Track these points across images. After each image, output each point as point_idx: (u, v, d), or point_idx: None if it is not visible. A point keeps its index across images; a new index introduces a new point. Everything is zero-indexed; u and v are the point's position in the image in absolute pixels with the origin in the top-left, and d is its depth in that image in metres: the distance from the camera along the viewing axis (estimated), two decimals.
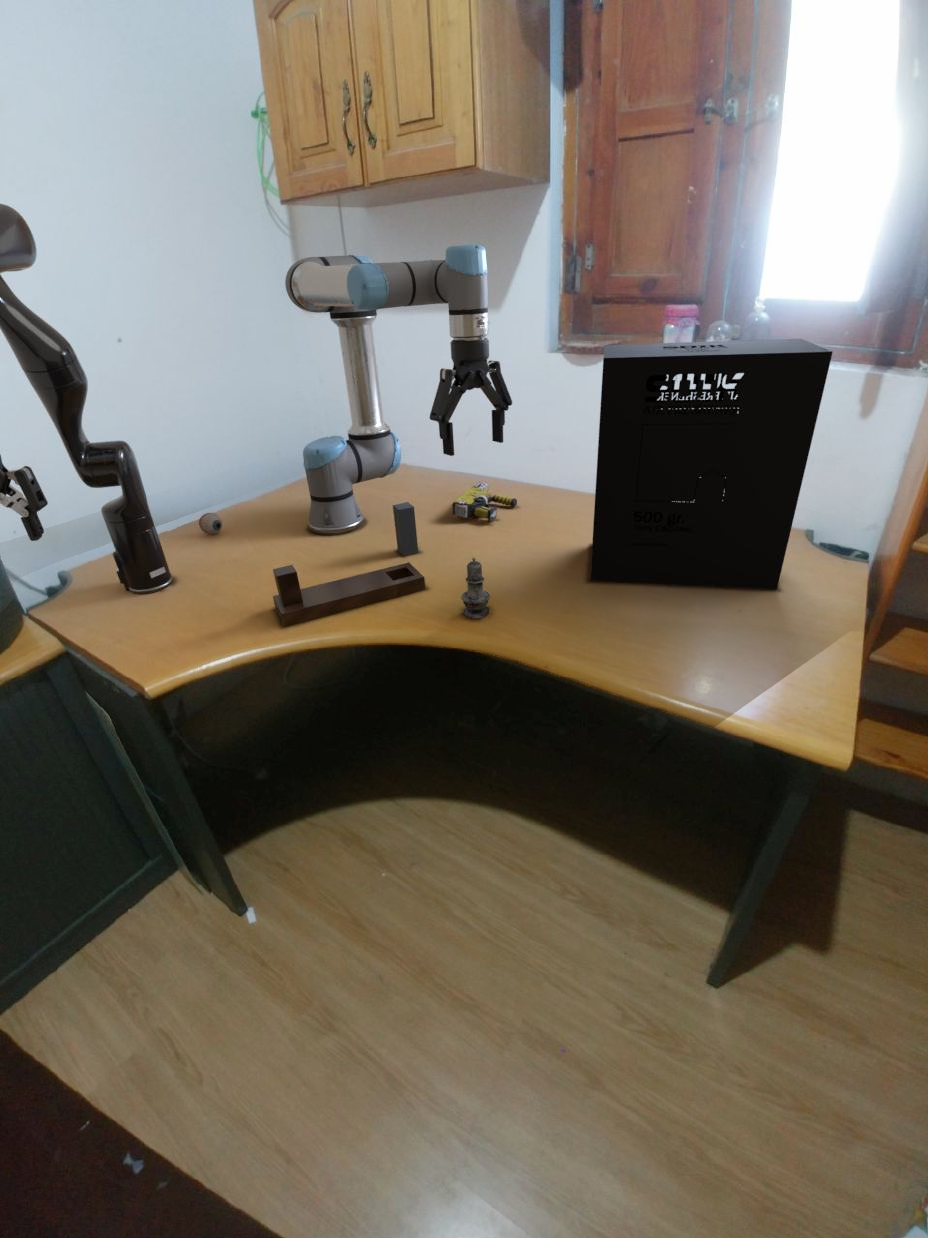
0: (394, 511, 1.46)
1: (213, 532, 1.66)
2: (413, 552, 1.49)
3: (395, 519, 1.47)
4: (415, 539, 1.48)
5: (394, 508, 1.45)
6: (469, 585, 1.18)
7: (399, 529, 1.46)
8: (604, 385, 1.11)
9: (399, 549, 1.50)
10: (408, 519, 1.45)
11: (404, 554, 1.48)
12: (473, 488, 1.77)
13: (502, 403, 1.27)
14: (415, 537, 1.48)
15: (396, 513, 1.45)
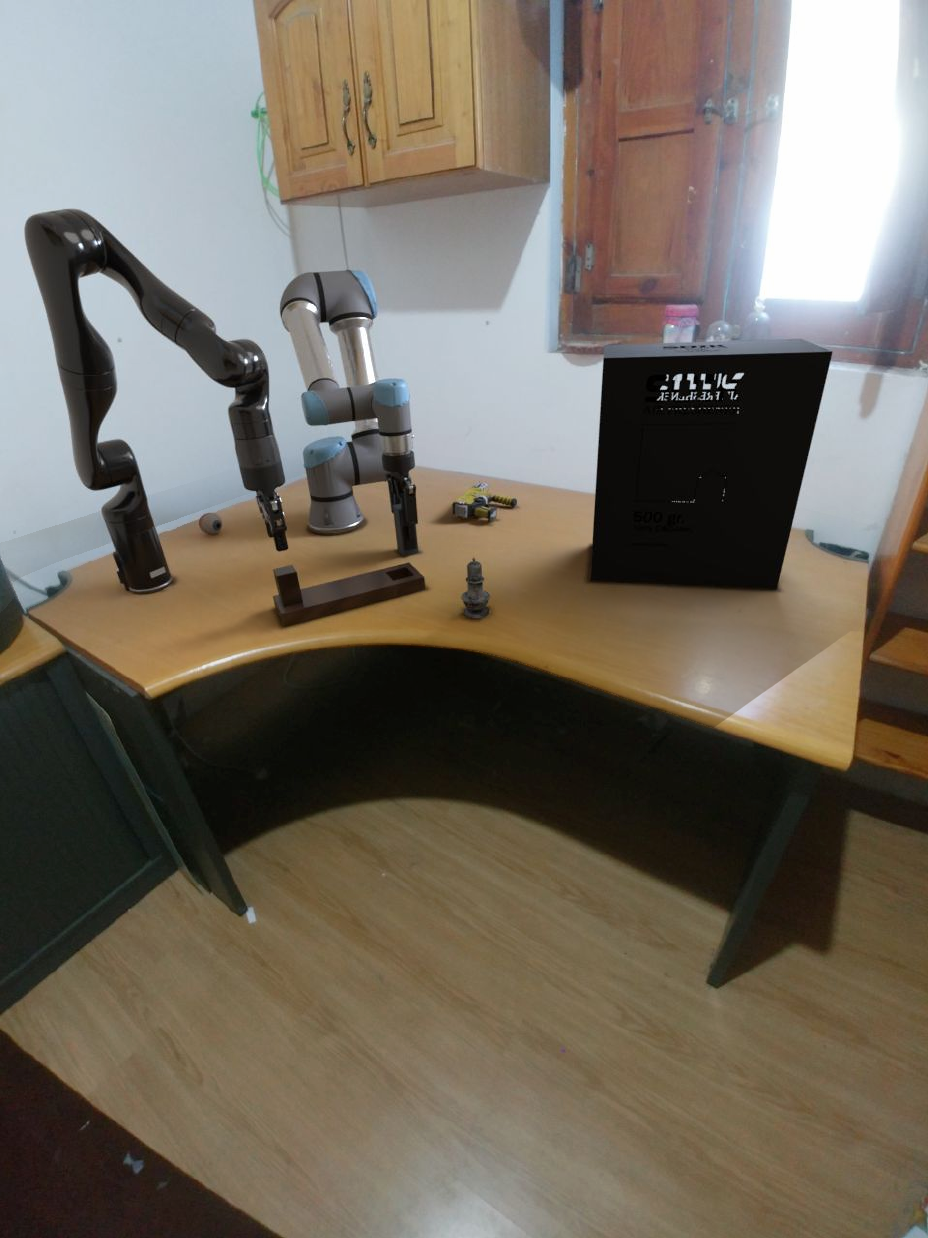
0: (394, 511, 1.46)
1: (213, 532, 1.66)
2: (413, 552, 1.49)
3: (395, 519, 1.47)
4: None
5: (394, 508, 1.45)
6: (469, 585, 1.18)
7: (399, 529, 1.46)
8: (604, 385, 1.11)
9: (399, 549, 1.50)
10: None
11: (404, 554, 1.48)
12: (473, 488, 1.77)
13: None
14: None
15: (396, 513, 1.45)
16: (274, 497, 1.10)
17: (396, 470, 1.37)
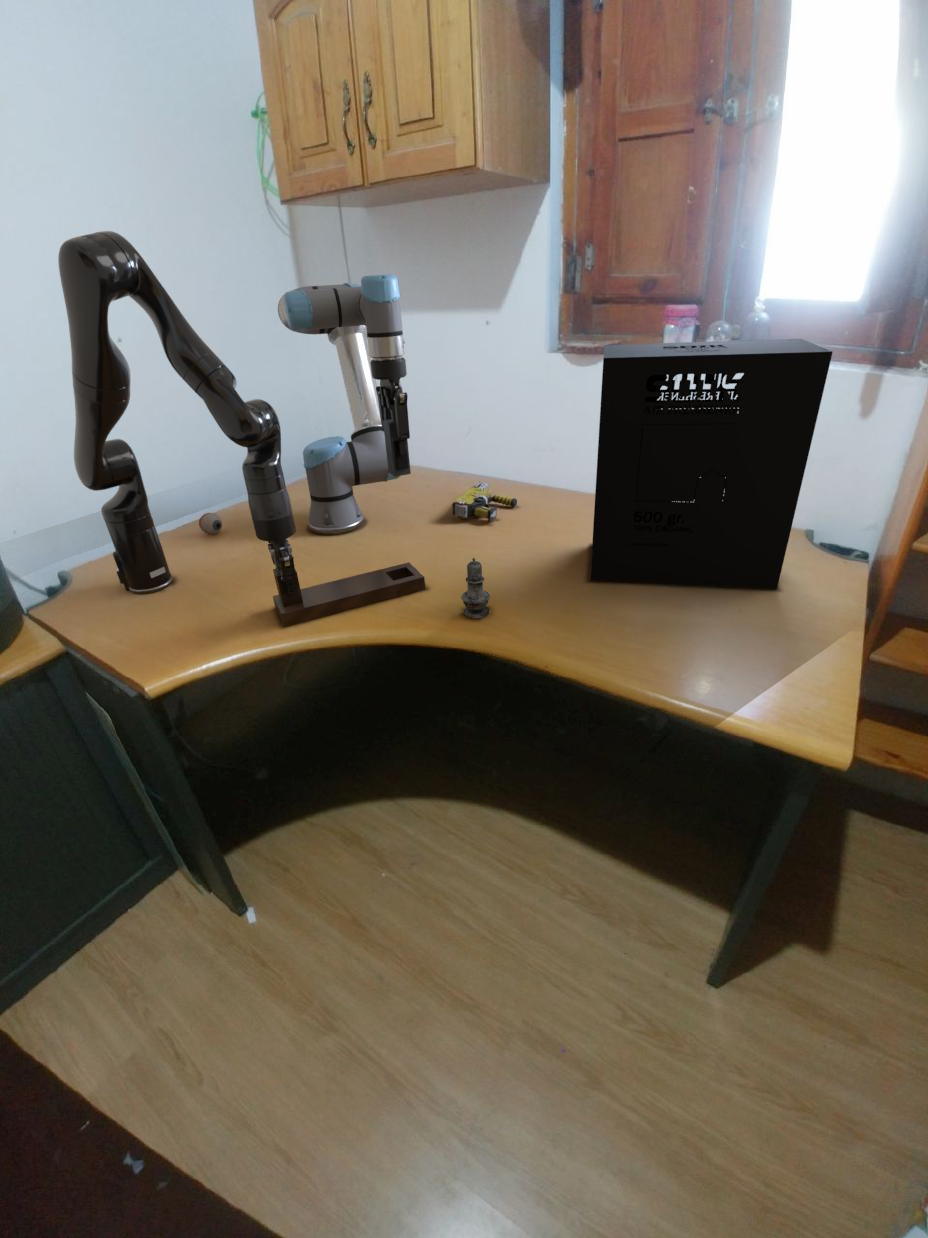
0: (384, 427, 1.36)
1: (213, 532, 1.66)
2: (405, 473, 1.39)
3: (385, 436, 1.37)
4: None
5: (384, 423, 1.35)
6: (469, 585, 1.18)
7: (390, 446, 1.36)
8: (604, 385, 1.11)
9: (390, 470, 1.40)
10: None
11: (395, 474, 1.38)
12: (473, 488, 1.77)
13: None
14: None
15: (386, 428, 1.35)
16: (285, 547, 1.15)
17: (386, 376, 1.27)
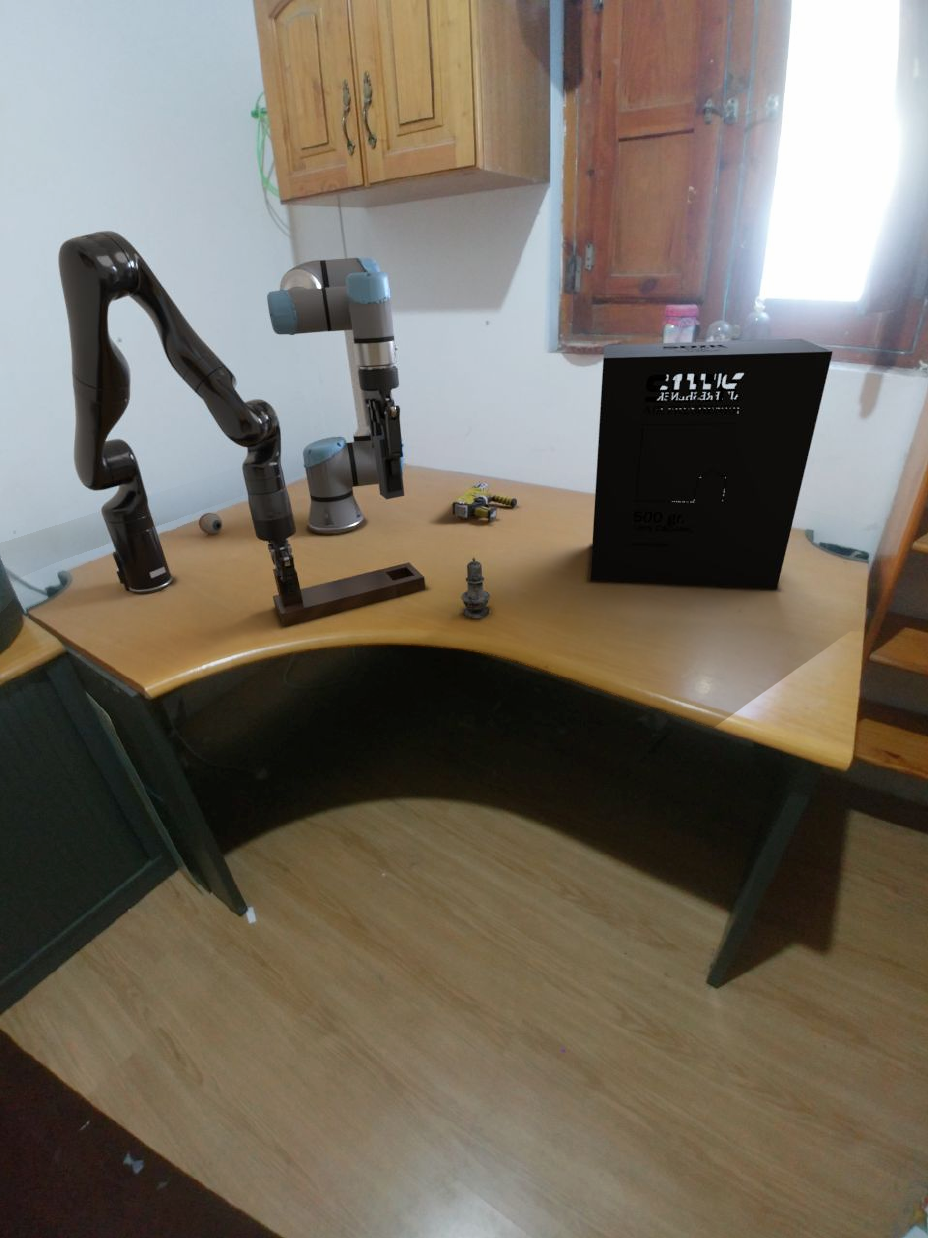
0: (374, 443, 1.20)
1: (213, 532, 1.66)
2: (398, 495, 1.24)
3: (376, 454, 1.21)
4: None
5: (374, 439, 1.20)
6: (469, 585, 1.18)
7: (381, 465, 1.21)
8: (604, 385, 1.11)
9: (381, 492, 1.25)
10: None
11: (387, 497, 1.23)
12: (473, 488, 1.77)
13: None
14: None
15: (377, 445, 1.19)
16: (285, 547, 1.15)
17: (375, 388, 1.12)
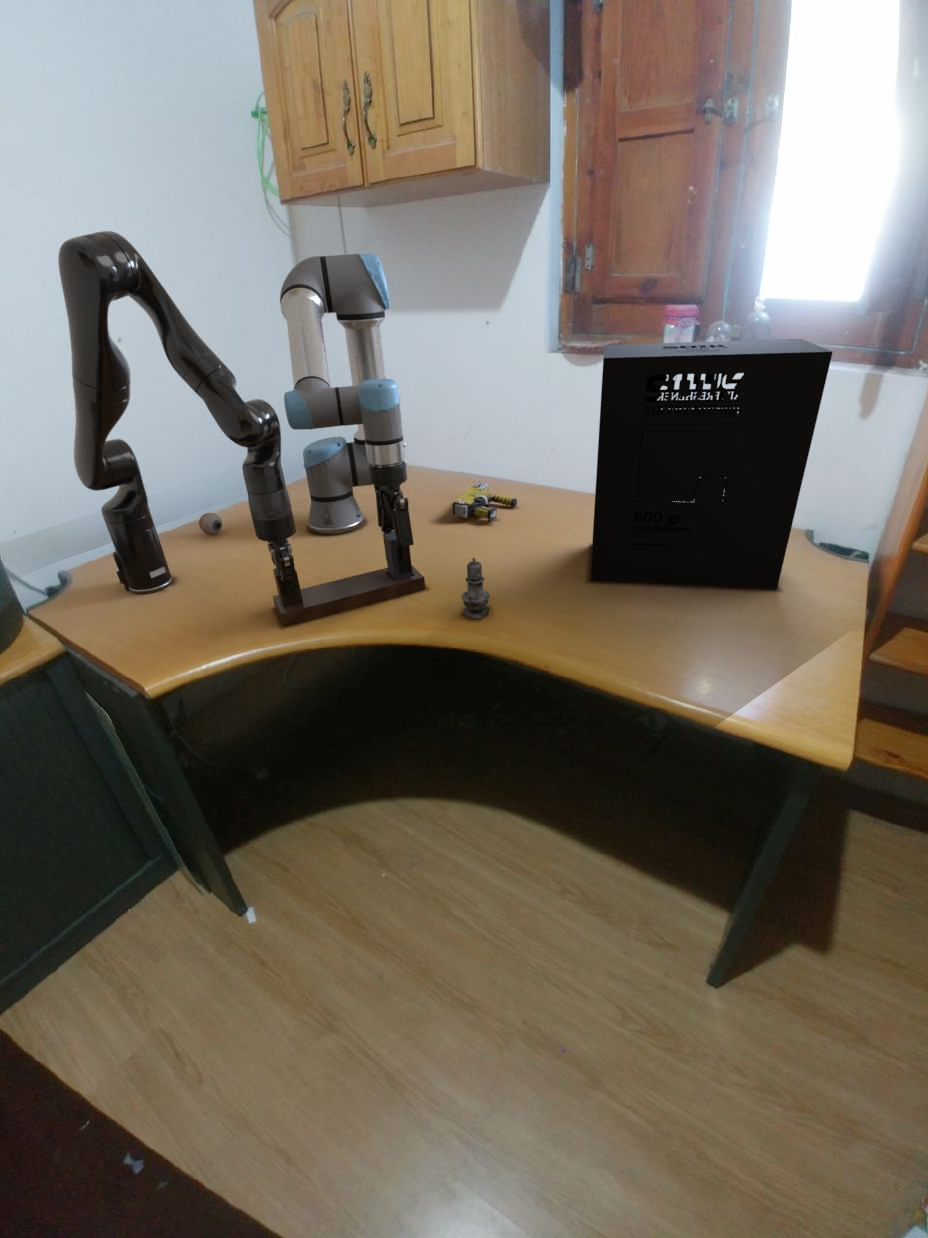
0: (385, 541, 1.29)
1: (213, 532, 1.66)
2: None
3: (386, 550, 1.30)
4: None
5: (385, 538, 1.29)
6: (469, 585, 1.18)
7: (391, 561, 1.30)
8: (604, 385, 1.11)
9: None
10: None
11: None
12: (473, 488, 1.77)
13: None
14: None
15: (387, 544, 1.28)
16: (285, 547, 1.15)
17: (385, 484, 1.19)
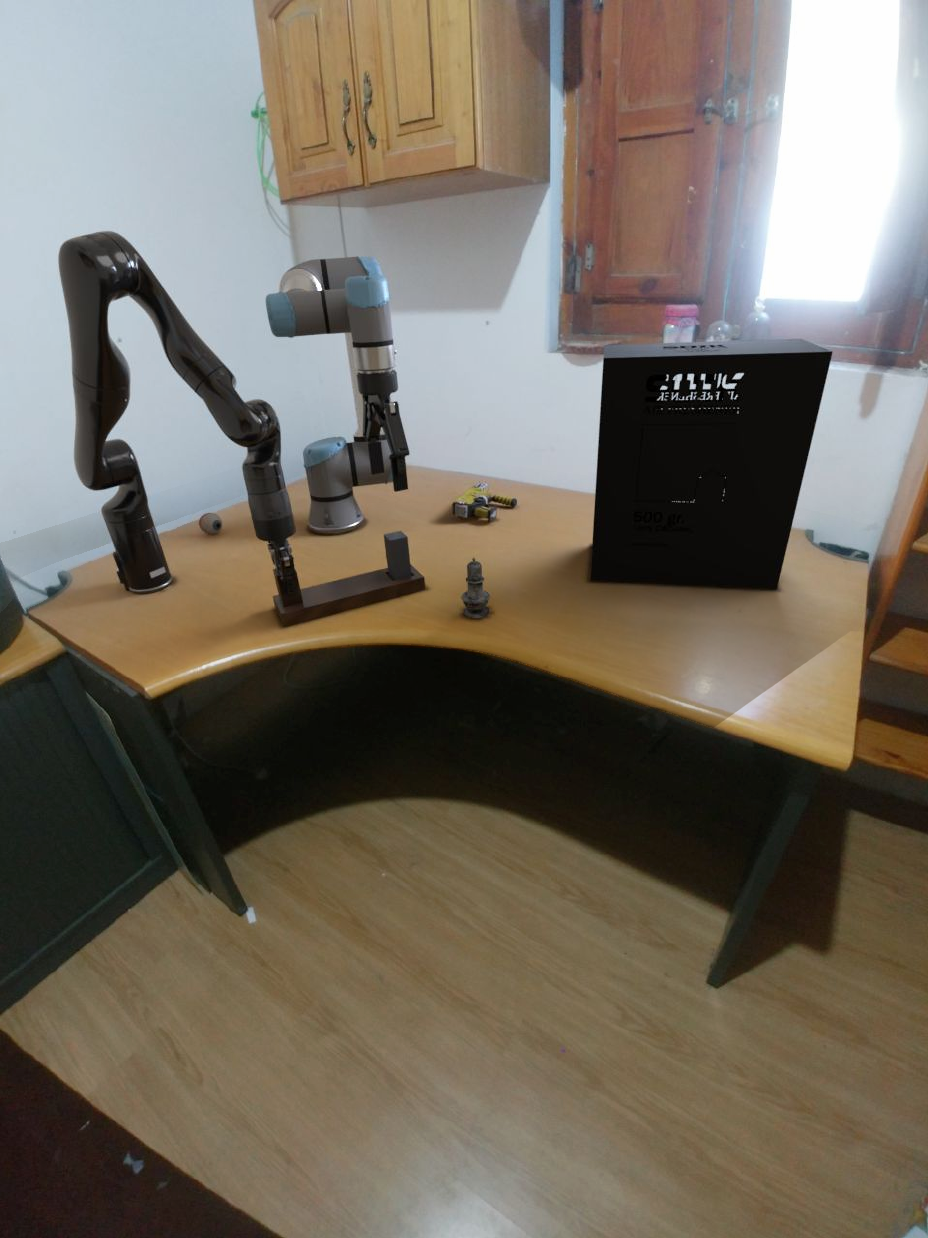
0: (385, 541, 1.29)
1: (213, 532, 1.66)
2: None
3: (386, 550, 1.30)
4: (409, 572, 1.32)
5: (385, 538, 1.29)
6: (469, 585, 1.18)
7: (391, 561, 1.30)
8: (604, 385, 1.11)
9: None
10: (401, 550, 1.29)
11: None
12: (473, 488, 1.77)
13: None
14: (409, 570, 1.31)
15: (387, 544, 1.28)
16: (285, 547, 1.15)
17: (374, 392, 1.11)
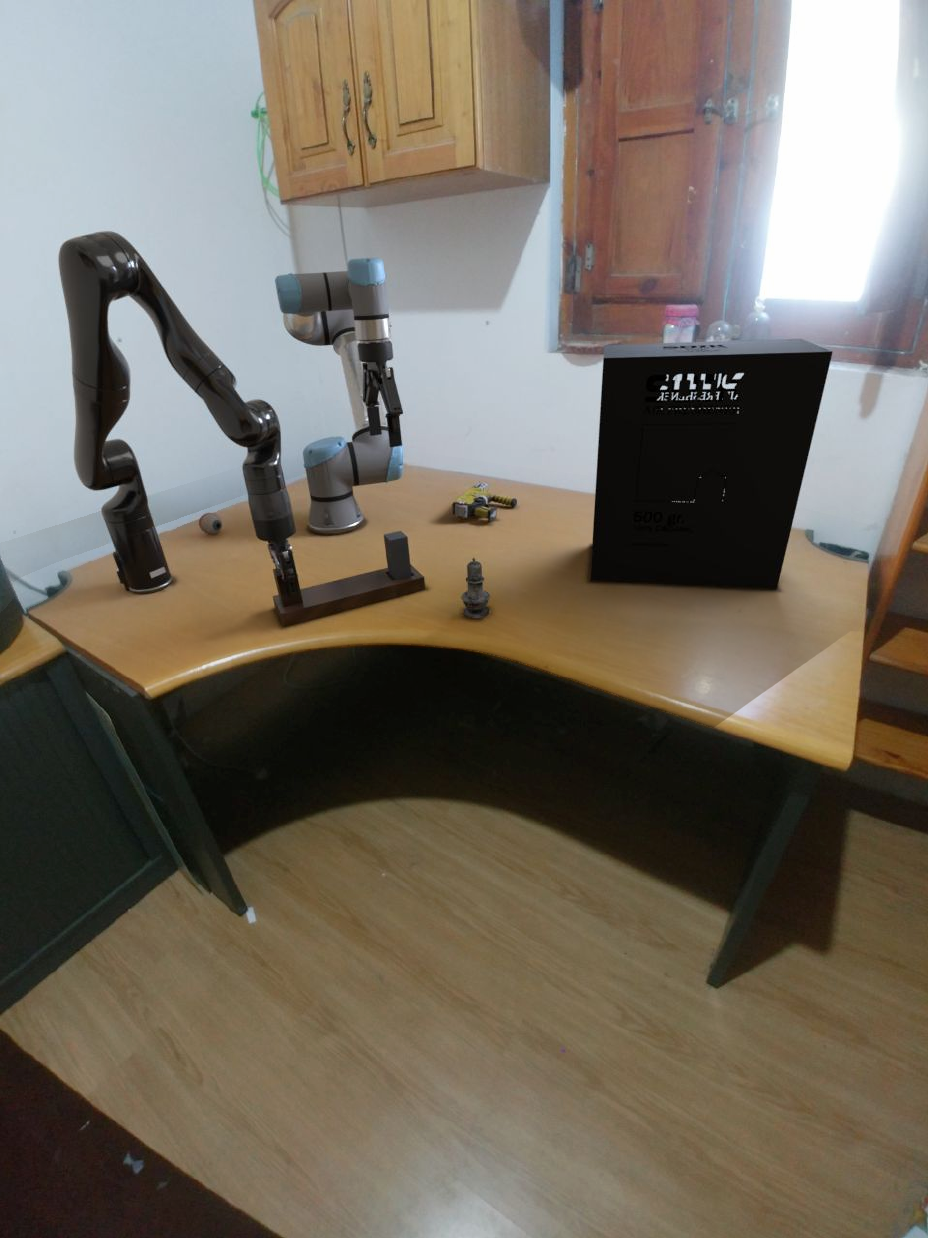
0: (385, 541, 1.29)
1: (213, 532, 1.66)
2: None
3: (386, 550, 1.30)
4: (409, 572, 1.32)
5: (385, 538, 1.29)
6: (469, 585, 1.18)
7: (391, 561, 1.30)
8: (604, 385, 1.11)
9: None
10: (401, 550, 1.29)
11: None
12: (473, 488, 1.77)
13: None
14: (409, 570, 1.31)
15: (387, 544, 1.28)
16: (285, 547, 1.15)
17: (372, 359, 1.29)
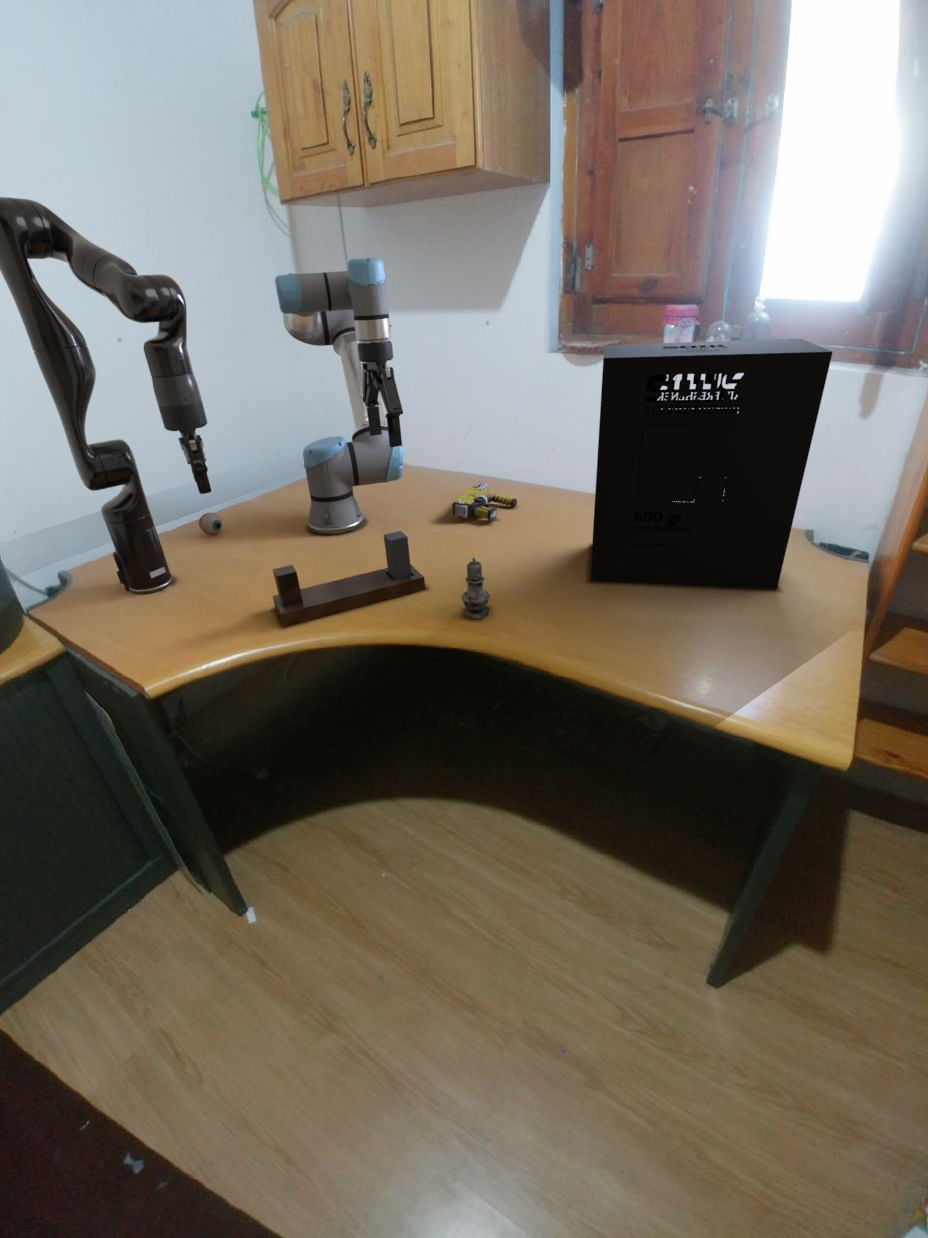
0: (385, 541, 1.29)
1: (213, 532, 1.66)
2: None
3: (386, 550, 1.30)
4: (409, 572, 1.32)
5: (385, 538, 1.29)
6: (469, 585, 1.18)
7: (391, 561, 1.30)
8: (604, 385, 1.11)
9: None
10: (401, 550, 1.28)
11: None
12: (473, 488, 1.77)
13: None
14: (409, 570, 1.31)
15: (387, 544, 1.28)
16: (194, 437, 1.10)
17: (372, 359, 1.29)
